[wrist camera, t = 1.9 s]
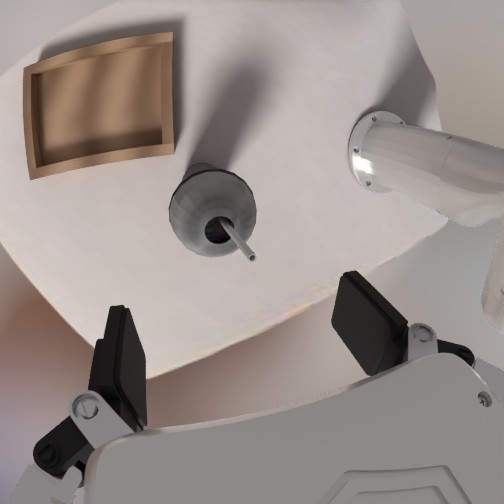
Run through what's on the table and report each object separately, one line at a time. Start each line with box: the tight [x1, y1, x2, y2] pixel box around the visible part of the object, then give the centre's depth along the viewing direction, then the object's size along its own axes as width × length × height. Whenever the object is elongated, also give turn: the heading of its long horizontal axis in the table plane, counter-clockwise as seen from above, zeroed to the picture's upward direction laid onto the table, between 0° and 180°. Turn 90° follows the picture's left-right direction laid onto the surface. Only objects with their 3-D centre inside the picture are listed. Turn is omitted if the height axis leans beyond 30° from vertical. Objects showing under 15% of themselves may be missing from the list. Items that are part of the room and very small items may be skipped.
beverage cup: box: [169, 163, 257, 262], centre depth 24 cm, size 7×7×20 cm
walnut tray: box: [23, 32, 175, 180], centre depth 24 cm, size 18×14×3 cm
